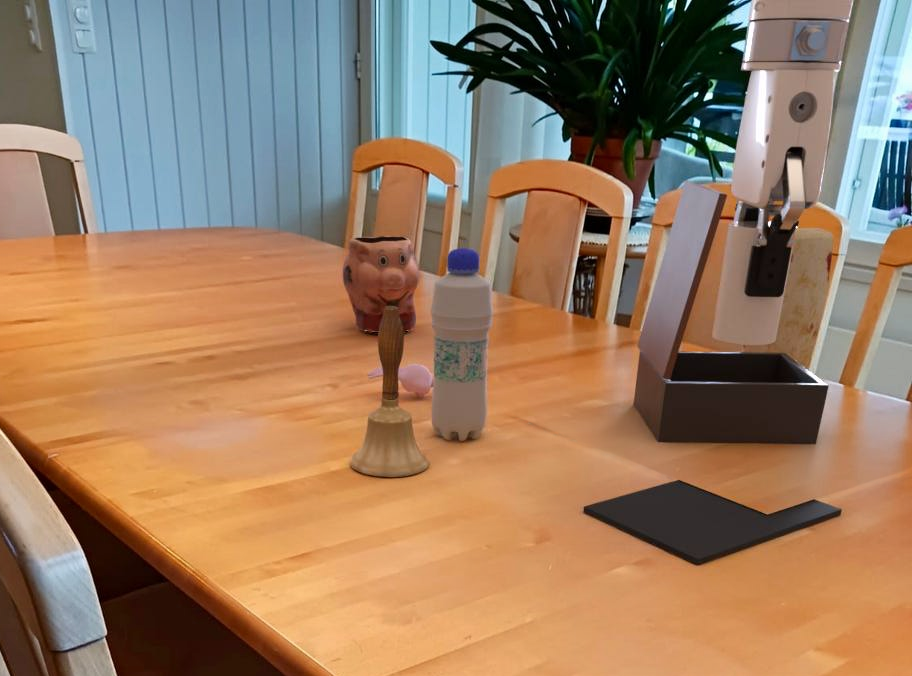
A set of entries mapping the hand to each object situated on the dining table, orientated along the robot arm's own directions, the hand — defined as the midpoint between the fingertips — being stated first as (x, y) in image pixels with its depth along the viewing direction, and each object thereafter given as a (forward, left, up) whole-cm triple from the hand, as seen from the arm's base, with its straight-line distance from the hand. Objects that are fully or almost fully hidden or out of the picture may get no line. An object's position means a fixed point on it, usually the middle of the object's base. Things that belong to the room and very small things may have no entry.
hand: (752, 287), depth 86 cm
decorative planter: (-13, -81, -20) cm, 85 cm away
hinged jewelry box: (-17, -14, -20) cm, 30 cm away
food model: (-38, -23, -20) cm, 49 cm away
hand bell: (+22, -25, -20) cm, 39 cm away
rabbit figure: (+4, -44, -20) cm, 49 cm away
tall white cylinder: (0, 0, -4) cm, 4 cm away
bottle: (+10, -29, -20) cm, 37 cm away
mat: (+4, +3, -20) cm, 20 cm away
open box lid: (-12, -18, -3) cm, 22 cm away
